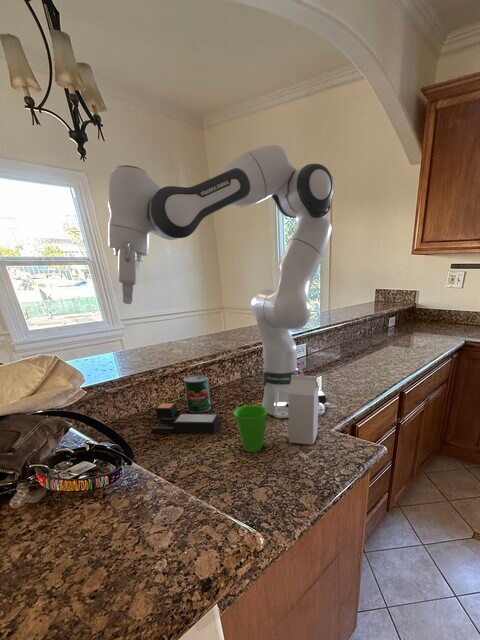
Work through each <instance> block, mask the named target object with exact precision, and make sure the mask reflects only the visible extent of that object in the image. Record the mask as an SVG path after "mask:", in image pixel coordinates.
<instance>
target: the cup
mask: <svg viewBox="0 0 480 640" xmlns="http://www.w3.org/2000/svg"><path fill="white" fill-rule="evenodd" d="M267 413H268V410H267V409H266V408H265V407H262V405H257V404H255V405H253V404H251V405H250V404H249V405H243V406H240V407H237V408H236V409H234V410H233V416H235V420H236V425H237V428H238V432H239V435H240V440H241V444H242V447H243V449H244V451H245V452H248V453H256V452H259V451H261V450H262V448H263V445H264V438H265V429H266V421H267V415H268V414H267Z"/></svg>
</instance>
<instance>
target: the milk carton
mask: <svg viewBox="0 0 480 640" xmlns="http://www.w3.org/2000/svg"><path fill="white" fill-rule="evenodd" d="M319 387H320V386H319V383H318V377H317V376H310V375H304V376H298V375H291V382H290V387H289V392H288V412H289V418H288V442H289V443H292V444H301V445H311V446H313V445H314V443H315V441H316V438H317V437H318V429H319V428H318V427H319V422H318V421H319V416H318V394H319V391H320V390H319Z"/></svg>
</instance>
